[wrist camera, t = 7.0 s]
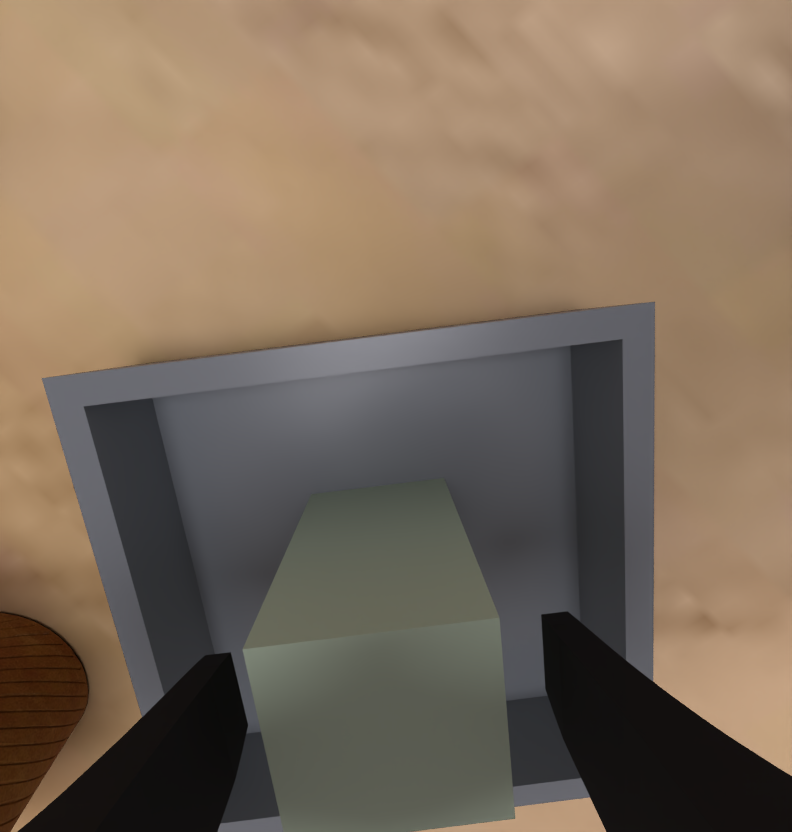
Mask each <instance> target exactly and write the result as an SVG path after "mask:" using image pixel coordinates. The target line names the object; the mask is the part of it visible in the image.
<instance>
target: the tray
mask: <svg viewBox="0 0 792 832" xmlns="http://www.w3.org/2000/svg"><path fill="white" fill-rule="evenodd" d="M654 371H655V302H648V303H638V304H628V305H618V306H608V307H598V308H588V309H579V310H571V311H563V312H555V313H547V314H539V315H531V316H523V317H515V318H507V319H499V320H491V321H483V322H475V323H467V324H459V325H451V326H443V327H435V328H427V329H419V330H411V331H403V332H395V333H387V334H379V335H371V336H363V337H355V338H347V339H339V340H331V341H323V342H315V343H307V344H299V345H291V346H283V347H275V348H267V349H259V350H251V351H243V352H235V353H227V354H219V355H211V356H203V357H195V358H187V359H179V360H171V361H163V362H154V363H146V364H138V365H131V366H124V367H117V368H110V369H104V370H97V371H90V372H83V373H76V374H69V375H62V376H55V377H48V378H42V381H43V384H44V387H45V391H46V394H47V398H48V401H49V404H50V408H51V411H52V414H53V418H54V421H55V425H56V428H57V431H58V435H59V438H60V441H61V445H62V448H63V451H64V455H65V458H66V462H67V465H68V468H69V472H70V475H71V478H72V482H73V485H74V489H75V492H76V495H77V499H78V502H79V505H80V509H81V512H82V516H83V519H84V522H85V526H86V529H87V532H88V536H89V539H90V543H91V546H92V549H93V553H94V556H95V559H96V563H97V566H98V570H99V573H100V576H101V580H102V583H103V586H104V590H105V593H106V596H107V600H108V603H109V607H110V610H111V613H112V617H113V620H114V623H115V627H116V630H117V634H118V637H119V640H120V644H121V647H122V650H123V654H124V657H125V661H126V664H127V667H128V671H129V674H130V677H131V681H132V684H133V688H134V691H135V694H136V698H137V701H138V704H139V708H140V711H141V715H142V717H143V716H144V715H145V714H146V713H147V712H148V711H149V710H150V709H151V708H152V707H153V706H154V705H155V704H156V703H157V702H158V701H159V700H160V699H161V698H162V697H163V696H164V695H165V694H166V693H167V692H168V691H169V690H170V689H171V688H172V687H173V686H174V685H175V684H176V683H177V682H178V681H179V680H180V679H181V678H182V677H183V676H184V675H185V674H186V673H187V672H188V671H189V670H190V669H191V668H192V667H193V666H194V665H195V664H196V663H197V662H198V661H199V660H200V659H201V658H203V657H204V656H205V655H211V654H220V653H228V652H231V655H232V659H233V663H234V667H235V672H236V676H237V680H238V684H239V689H240V693H241V697H242V701H243V705H244V710H245V714H246V718H247V722H248V728H247V733H246V737H245V742H244V746H243V751H242V755H241V759H240V763H239V767H238V771H237V775H236V779H235V782H234V785H233V788H232V791H231V794H230V797H229V800H228V803H227V806H226V809H225V812H224V814H223V817H222V820H221V823H220V826H219V829H218V832H283V827H282V823H281V818H280V814H279V809H278V805H277V801H276V796H275V792H274V787H273V783H272V778H271V774H270V770H269V765H268V761H267V756H266V752H265V747H264V743H263V738H262V734H261V730H260V725H259V721H258V716H257V712H256V707H255V703H254V698H253V694H252V690H251V685H250V681H249V676H248V672H247V667H246V663H245V658H244V654H243V650H242V649H243V647H244V645H245V643H246V640H247V638H248V636H249V634H250V631H251V629H252V627H253V625H254V622H255V620H256V618H257V616H258V613H259V611H260V609H261V607H262V604H263V602H264V600H265V598H266V595H267V593H268V591H269V589H270V586H271V584H272V582H273V579H274V577H275V575H276V573H277V570H278V568H279V566H280V564H281V561H282V559H283V557H284V555H285V552H286V550H287V548H288V546H289V543H290V541H291V539H292V537H293V534H294V532H295V530H296V528H297V525H298V523H299V521H300V519H301V516H302V514H303V512H304V510H305V507H306V505H307V503H308V501H309V498H310V496H311V494H318V493H326V492H334V491H342V490H350V489H359V488H367V487H375V486H383V485H391V484H399V483H407V482H416V481H424V480H432V479H440V478H444V479H445V482H446V484H447V487H448V490H449V492H450V495H451V497H452V500H453V502H454V505H455V507H456V510H457V512H458V515H459V517H460V520H461V522H462V525H463V527H464V530H465V532H466V535H467V537H468V540H469V542H470V545H471V547H472V550H473V552H474V555H475V557H476V560H477V562H478V565H479V567H480V570H481V572H482V575H483V577H484V580H485V582H486V585H487V588H488V590H489V593H490V595H491V598H492V600H493V603H494V605H495V608H496V610H497V613H498V615H499V618H500V630H501V643H502V656H503V668H504V681H505V694H506V707H507V720H508V732H509V745H510V758H511V771H512V784H513V796H514V807H517V806H524V805H532V804H540V803H548V802H556V801H564V800H572V799H580V798H588V797H590V796H589V794H588V791H587V789H586V787H585V785H584V783H583V781H582V779H581V777H580V774H579V772H578V770H577V768H576V766H575V764H574V762H573V759H572V757H571V755H570V753H569V751H568V749H567V747H566V744H565V742H564V740H563V737H562V735H561V732H560V729H559V726H558V724H557V721H556V718H555V715H554V713H553V710H552V707H551V704H550V701H549V698H548V695H547V692H546V690H545V674H544V656H543V639H542V621H541V614H549V613H557V612H565V611H568V612H569V613H570V614H571V615H573V616H574V617H575V618H576V619H578V620H579V621H580V622H581V623H582V624H583V625H585V626H586V627H587V628H588V629H589V630H591V631H592V632H593V633H594V634H595V635H596V636H598V637H599V638H600V639H601V640H602V641H604V642H605V643H606V644H607V645H608V646H609V647H611V648H612V649H613V650H614V651H615V652H617V653H618V654H619V655H620V656H622V657H623V658H624V659H625V660H626V661H628V662H629V663H630V664H631V665H633V666H634V667H635V668H636V669H638V670H639V671H640V672H641V673H643V674H644V675H645V676H647V677H648V678H649V679H650V680H652V681H653V601H654Z"/></svg>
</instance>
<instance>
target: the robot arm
mask: <svg viewBox="0 0 792 832" xmlns="http://www.w3.org/2000/svg"><path fill="white" fill-rule="evenodd" d="M541 621H542V639H543V656H544V674H545V690H546V692H547V695H548V698H549V701H550V704H551V707H552V710H553V713H554V715H555V718H556V721H557V724H558V726H559V729H560V732H561V735H562V737H563V740H564V742H565V744H566V747H567V749H568V751H569V753H570V755H571V757H572V759H573V762H574V764H575V766H576V768H577V770H578V772H579V774H580V777H581V779H582V781H583V783H584V785H585V787H586V789H587V791H588V794H589V796H590V798H591V800H592V802H593V804H594V806H595V808H596V810H597V813H598V815H599V817H600V819H601V821H602V823H603V825H604V827H605V829H606V832H792V776H790V775H789V774H787V773H785V772H784V771H782V770H781V769H779V768H777V767H776V766H774V765H773V764H771V763H769V762H768V761H766V760H765V759H763V758H762V757H760V756H759V755H757V754H755V753H754V752H752V751H751V750H749V749H748V748H746V747H745V746H743V745H741V744H740V743H738V742H737V741H735V740H734V739H732V738H731V737H729V736H728V735H726V734H725V733H723V732H722V731H720V730H719V729H717V728H716V727H714V726H713V725H711V724H710V723H709V722H707V721H706V720H704V719H703V718H701V717H700V716H699V715H697V714H696V713H695V712H693V711H692V710H690V709H689V708H688V707H686V706H685V705H683V704H682V703H681V702H679V701H678V700H677V699H675V698H674V697H672V696H671V695H670V694H668V693H667V692H666V691H664V690H663V689H662V688H660V687H659V686H658V685H657V684H655V683H654V682H653V681H652V680H650V679H649V678H648V677H647V676H645V675H644V674H643V673H641V672H640V671H639V670H638V669H636V668H635V667H634V666H633V665H631V664H630V663H629V662H628V661H626V660H625V659H624V658H623V657H622V656H620V655H619V654H618V653H617V652H615V651H614V650H613V649H612V648H611V647H609V646H608V645H607V644H606V643H605V642H604V641H602V640H601V639H600V638H599V637H598V636H596V635H595V634H594V633H593V632H592V631H591V630H589V629H588V628H587V627H586V626H585V625H583V624H582V623H581V622H580V621H579V620H578V619H576V618H575V617H574V616H573V615H571V614H570V613H569V612H568V611H565V612H557V613H549V614H541ZM247 728H248V722H247V718H246V714H245V710H244V705H243V701H242V697H241V693H240V689H239V684H238V680H237V676H236V672H235V667H234V663H233V659H232V655H231V652H228V653H220V654H211V655H205V656H204V657H203V658H201V659H200V660H199V661H198V662H197V663H196V664H195V665H194V666H193V667H192V668H191V669H190V670H189V671H188V672H187V673H186V674H185V675H184V676H183V677H182V678H181V679H180V680H179V681H178V682H177V683H176V684H175V685H174V686H173V687H172V688H171V689H170V690H169V691H168V692H167V693H166V694H165V695H164V696H163V697H162V698H161V699H160V700H159V701H158V702H157V703H156V704H155V705H154V706H153V707H152V708H151V709H150V710H149V711H148V712H147V713H146V714H145V715H144V716H143V717H142V718H141V719H140V720H139V721H138V722H137V723H136V724H135V725H134V726H133V727H132V728H131V729H130V730H129V731H128V732H127V733H126V734H125V735H124V736H123V737H122V738H121V739H120V740H119V741H118V742H117V743H116V744H114V745H113V746H112V747H111V748H110V749H109V750H108V751H107V752H106V753H105V754H104V755H103V756H102V757H101V758H99V759H98V760H97V761H96V762H95V763H94V764H93V765H92V766H91V767H90V768H89V769H88V770H87V771H86V772H84V773H83V774H82V775H81V776H80V777H79V778H78V779H77V780H76V781H75V782H74V783H73V784H72V785H71V786H69V787H68V788H67V789H66V790H65V791H64V792H63V793H62V794H61V795H60V796H58V797H57V798H56V799H55V800H54V801H53V802H52V803H51V804H49V805H48V806H47V807H46V808H45V809H44V810H43V811H41V812H40V813H39V814H38V815H37V816H36V817H34V818H33V819H32V820H31V821H30V822H29V823H27V824H26V825H25V826H24V827H23V828H21V829H20V830H19V831H18V832H218V829H219V826H220V823H221V820H222V817H223V814H224V812H225V809H226V806H227V803H228V800H229V797H230V794H231V791H232V788H233V785H234V782H235V779H236V775H237V771H238V767H239V763H240V759H241V755H242V751H243V746H244V742H245V737H246V733H247Z"/></svg>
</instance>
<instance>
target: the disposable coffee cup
mask: <svg viewBox="0 0 792 832" xmlns="http://www.w3.org/2000/svg"><path fill="white" fill-rule="evenodd" d="M87 699H88V686H87V680H86V675H85V672H84V669H83V667H82V664H81V663H80V661H79V660H78V658H77V657H76V655H75V654H74V652H73V651H72V649H71V648H70V647H69V646H68V645H67V644H66V643H65V642H64V641H63V640H62V639H61V638H60V637H58V636H57V635H56V634H55V633H53V632H52V631H51V630H49V629H47V628H45V627H44V626H42V625H40V624H38V623H36V622H34V621H31V620H28V619H25V618H23V617H20V616H16V615H10V614H5V613H0V832H10V831H11V830H12V828H13V826H14V825H15V823H16V821H17V820H18V818H19V816H20V815H21V813H22V812H23V810H24V808H25V807H26V805H27V804H28V802H29V800H30V799H31V797H32V795H33V794H34V792H35V791H36V789H37V788H38V786H39V784H40V783H41V781H42V779H43V778H44V776H45V774H46V773H47V771H48V770H49V768H50V767H51V765H52V763H53V762H54V760H55V758H56V757H57V755H58V753H59V752H60V751H61V749H62V747H63V746H64V744H65V742H66V741H67V739H68V738H69V736H70V734H71V733H72V731H73V730H74V728H75V726H76V725H77V723H78V722H79V720H80V719H81V717H82V716H83V713H84V711H85V708H86V705H87Z"/></svg>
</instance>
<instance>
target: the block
mask: <svg viewBox="0 0 792 832" xmlns="http://www.w3.org/2000/svg"><path fill="white" fill-rule="evenodd" d="M242 650H243V654H244V658H245V663H246V667H247V672H248V676H249V681H250V685H251V690H252V694H253V698H254V703H255V707H256V712H257V716H258V721H259V725H260V730H261V734H262V738H263V743H264V747H265V752H266V756H267V761H268V765H269V770H270V774H271V778H272V783H273V787H274V792H275V796H276V801H277V805H278V809H279V814H280V818H281V823H282V827H283V832H411V831H419V830H427V829H435V828H444V827H452V826H460V825H468V824H476V823H484V822H492V821H500V820H508V819H515V809H514V796H513V784H512V771H511V758H510V745H509V732H508V720H507V707H506V694H505V681H504V668H503V656H502V643H501V630H500V618H499V615H498V613H497V610H496V608H495V605H494V603H493V600H492V598H491V595H490V593H489V590H488V588H487V585H486V582H485V580H484V577H483V575H482V572H481V570H480V567H479V565H478V562H477V560H476V557H475V555H474V552H473V550H472V547H471V545H470V542H469V540H468V537H467V535H466V532H465V530H464V527H463V525H462V522H461V520H460V517H459V515H458V512H457V510H456V507H455V505H454V502H453V500H452V497H451V495H450V492H449V490H448V487H447V484H446V482H445V479H444V478H440V479H432V480H424V481H416V482H407V483H399V484H391V485H383V486H375V487H367V488H359V489H350V490H342V491H334V492H326V493H318V494H311V496H310V498H309V501H308V503H307V505H306V507H305V510H304V512H303V514H302V516H301V519H300V521H299V523H298V525H297V528H296V530H295V532H294V534H293V537H292V539H291V541H290V543H289V546H288V548H287V550H286V552H285V555H284V557H283V559H282V561H281V564H280V566H279V568H278V570H277V573H276V575H275V577H274V579H273V582H272V584H271V586H270V589H269V591H268V593H267V595H266V598H265V600H264V602H263V604H262V607H261V609H260V611H259V613H258V616H257V618H256V620H255V622H254V625H253V627H252V629H251V631H250V634H249V636H248V638H247V640H246V643H245V645H244V647H243V649H242Z"/></svg>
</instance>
